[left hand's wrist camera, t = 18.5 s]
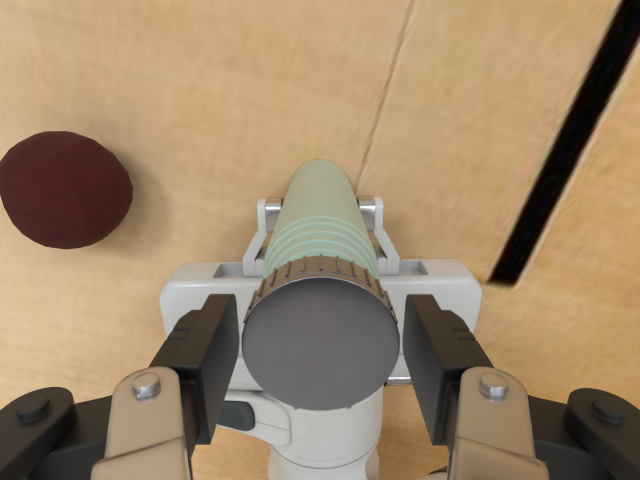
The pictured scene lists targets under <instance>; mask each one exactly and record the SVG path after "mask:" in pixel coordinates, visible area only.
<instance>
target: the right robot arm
mask: <svg viewBox="0 0 640 480" xmlns="http://www.w3.org/2000/svg"><path fill="white" fill-rule="evenodd" d="M283 202H284V199H283V197H261V198H259V200H258V201H257V221H258V229H257V231H256V233H255V235H254V237H253V239H252V240H251V242H250V244H249V246H248V248H247V250H246V252H245V254H244V256H243V258H242V261H233V262H186V263H183V264H182V265H180V266H179V268H178V269H177V270H176V271H175V272H174V273H173V274H172V275H171V276H170V277H169V278H168V280H167V281H166V283H165V284H164V286H163V287H162V289H161V292H160V295H159V305H160V311H161V317H162V321H163V326H164V330H165V334H166V338H167V337H168V336H169V334H170V332H171V331H173V328H174V326H175V325H176V323H177V322H178V320H179V318H181V317H182V316H184V315H185V314H186V313H188V312H189V311H191V310H201V308H202V307H203V305H204V303H205V301H206V299H207V298H208V296H209V294H235V296H236V302H237V313H238V325H239V338H240V343H239V354H238V358H237V361H236V365H235V368H234V371H233V374H232V377H231V380H230V384H229V387H228V390H227V393H226V396H225V399H224V402H223V406H222V409H221V412H220V415H219V418H218V421H217V425H216V426H218V427H222V428H226V429H230V430H234V431H237V432H241V433H244V434H247V435H250V436H253V437H256V438H258V439H261V440H263V441H265V442H268V444H269V446H270V448H271V449H270V452H269V457H268V480H379V474H380V465H379V456H378V452H377V448H376V447H377V444H378V442H379V439H380V435H381V430H382V414H383V395H384V392H383V390H384V387H385V386H406V385H413V384H412V381H411V377H410V374H409V371H408V368H407V365H406V362H405V359H404V355H403V346H402V337H403V325H404V313H405V302H406V296H407V295H408V294H432V295H433V296H434V298H435V300H436V301H437V303H438V305H439V307H440V308H441V310H451V311H452V312H454V313H455V314H457V315H458V316H459V317H461V318H462V319H463V320H464V321H465V323H466V325H467V326H468V328H469V329H470V332H472V334H473V333H474V330H475V327H476V323H477V320H478V315H479V311H480V307H481V302H482V294H483V292H482V288H481V285H480V283H479V282H478V280H477V279H476V277H475V276H474V275H473V273H472V272H471V271H470V270H469V269H468V268H467V267H466V266H465V265H464V264H463V263H462V262H461V261H459V260H457V259H451V258H448V259H400V257H399V255H398V253H397V251H396V249H395V247H394V245H393V243H392V241H391V239H390V237H389V236H388V234H387V232H386V230H385V229H384V227H383V212H384V205H383V199H382V198H381V196H357V203H358V206H359V209H360V212H361V214H362V217H363V220H364V223H365V226H366V228H367V230H372V232H373V234H374V235H375V237H376V239H377V241H378V242H379V244H380V246H374V247H373V248H374V251H375V254H376V258H377V267H378V279H379V280H380V283H381V286H382V288H383V289H384V291H386V290H387V292H388V295H389V298H390V301H391V304H392V306H393V309H394V311H395V314H396V317H397V320H398V324H397V327H398V331H399V335H400V351H399V356H398V360H397V363H396V365H395V368H394V370H393V372H392V373H391V375H390V377H389V378H388V379H387V381H386V382H385V383H384V384H383V385H382V386H381V387H380V388H379V389H378V390H377V391H376V392H375V393H374V394H372V395H371V396H369V397H368V398H366V399H364V400H363V401H361V402H358V403H356V404H354V405H351V406H348V407H345V408H341V409H336V410H327V411H314V410H306V409H301V408H296V407H293V406H290V405H287V404H285V403H283V402H281V401H279V400H277V399H275V398H274V397H272V396H270V395H269V394H268V393H267V392H265V391H264V390H263V389H262V388H261V387H260V386H259V385H258V384H257V383H256V382H255V380H254V379H253V378H252V376H251V374H250V373H249V371H248V369H247V367H246V364H245V362H244V358H243V354H242V346H241V342H242V333H243V328H244V325H245V323H243V321H244V318H245V315H246V312H247V309H248V306H249V304H250V302H251V299H252V296H253V293H254V291H255V290H258V288H259V286H260V285H261V282H262V279H263V263H264V257H265V254H266V251H267V247H262V248H261V246H262V245H263V243H264V241H265V239H266V237H267V235H268V233H269V232H273V231H274V228H275V225H276V222H277V219H278V216H279V213H280V211H281V208H282V205H283ZM260 248H261V249H260ZM447 470H448V466H446V467H443V468H441V469H438V470H436V471H433V472H431V473H430V474H429V475H427V476H424V477H420V478H416V479H413V480H446V479H447Z"/></svg>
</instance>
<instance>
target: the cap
mask: <svg viewBox="0 0 640 480" xmlns="http://www.w3.org/2000/svg"><path fill="white" fill-rule="evenodd" d="M243 323H245V325H244V328H243V333H242V342H241V346H242V354H243V358H244V362H245V364H246V367H247V369H248V371H249V373H250V374H251V376H252V378H253V379H254V380H255V382H256V383H257V384H258V385H259V386H260V387H261V388H262V389H263V390H264V391H265V392H267V393H268V394H269V395H270V396H272V397H274V398H275V399H277V400H279V401H281V402H283V403H285V404H287V405H290V406H293V407H296V408H301V409H306V410H314V411H327V410H336V409H341V408H345V407H348V406H351V405H354V404H356V403H358V402H361V401H363V400H364V399H366V398H368V397H369V396H371V395H372V394H374V393H375V392H376V391H377V390H378V389H379V388H380V387H381V386H382V385H383V384H384V383H385V382H386V381H387V379H388V378H389V377H390V375H391V373H392V372H393V370H394V368H395V365H396V363H397V360H398V356H399V351H400V335H399V331H398V327H397V324H398V320H397V317H396V314H395V311H394V309H393V306H392V304H391V301H390V298H389V295H388V292H387V290H386V291H384V289H383V288H382V286H381V283H380V280H379V279H378V278H377V279H376V278H375V277H374V276H372V275H371V274H370V273H369V270H368V269H367V268H366V269H364V268H362V267H361V266H359V265H357V264H355V261H353V260H352V261H351V262H350V261H348V260H345V259H341V258H339V256H336V257H331V256H322V254H320V256H311V257H306V256H303V258H300V259H296V260H294V261H291V262H290V260H289V261H287V263H286V264H284V265H283V266H281V267H279V268H278V269H276V268H274V269H273V272H272V273H271V274H270V275H269V276H268V277H267V278H266V279H265V278H263V279H262V282H261V285H260V286H259V288H258V290H255V291H254V293H253V296H252V299H251V302H250V304H249V306H248V309H247V312H246V315H245V318H244V321H243Z"/></svg>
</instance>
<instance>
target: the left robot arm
mask: <svg viewBox="0 0 640 480" xmlns="http://www.w3.org/2000/svg"><path fill="white" fill-rule="evenodd" d="M239 343H240V338H239V325H238V313H237V302H236V296H235V294H209V296H208V298H207V299H206V301H205V303H204V305H203V307H202V308H201V310H191V311H189V312H188V313H186V314H185V315H184V316H182V317H181V318H179V320H178V322H177V323H176V325H175V326H174V328H173V331H171V332H170V334H169V336H168V337H167V340H165V342H164V343H163V345H162V347H161V348H160V350H159V351H158V353H157V354H156V356H155V358H154V359H153V361H152V362H151V364H150V365H149V367H148V368H145V369H141V370H139V371H136V372H134V373H132V374H130V375H128V376H127V377H125V378H124V379H123V380H122V381H120V382H119V383H118V385H117V386H116V387H115V389H114V391H113V395H111V396H107V397H104V398H99V399H95V400H90V401H86V402H81V403H76V404H75V403H74V399H73V396H72V393H71V392H70V391H69V390H67V389H65V388H61V387H49V388H43V389H39V390H35V391H32V392H30V393H27V394H25V395H23V396H21V397H19V398H17V399H15V400H14V401H12V402H11V403H9V404H8V405H6V406H5V407H4V408H3V409H1V410H0V480H194V479H193V470H192V462H191V457H192V454H193V451H194V449H195V446H196V445H210V443H211V440H212V437H213V434H214V431H215V428H216V425H217V421H218V418H219V415H220V412H221V409H222V406H223V402H224V399H225V396H226V393H227V390H228V387H229V384H230V380H231V377H232V374H233V371H234V368H235V365H236V361H237V358H238V354H239ZM402 346H403V355H404V359H405V362H406V365H407V368H408V371H409V374H410V377H411V381H412V384H413V387H414V390H415V393H416V396H417V399H418V402H419V405H420V408H421V411H422V415H423V418H424V421H425V424H426V427H427V430H428V433H429V436H430V439H431V442H432V445H447V447H448V450H449V453H450V455H449V462H448V470H447V479H446V480H640V410H639V409H637V408H636V407H635V406H633V405H632V404H631V403H629V402H628V401H626V400H624V399H622V398H620V397H618V396H616V395H614V394H611V393H609V392H606V391H602V390H598V389H592V388H581V389H577V390H574V391H573V392H572V393H571V394H570V395H569V398H568V402H567V404H563V403H559V402H554V401H550V400H545V399H541V398H537V397H533V396H530V395H527V391H526V389H525V387H524V386H523V385H522V383H521V382H520V381H518V380H517V379H516V378H515V377H513V376H512V375H510V374H508V373H506V372H504V371H501V370H499V369H495V368H494V366H493V365H492V363H491V362H490V360H489V359H488V357H487V356H486V354H485V352H484V351H483V349H482V348H481V346H480V345H479V343H478V342H477V341H476V340H475V337H474V335H473V334H472V332H470V329H469V328H468V326H467V325H466V323H465V321H464V320H463V319H462V318H461V317H459V316H458V315H457V314H455V313H454V312H452V311H451V310H441V308H440V307H439V305H438V303H437V301H436V300H435V298H434V296H433V295H432V294H408V295H407V296H406V302H405V313H404V325H403V337H402Z"/></svg>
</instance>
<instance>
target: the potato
mask: <svg viewBox="0 0 640 480" xmlns="http://www.w3.org/2000/svg"><path fill="white" fill-rule="evenodd" d="M132 190H133V187H132V184H131V181H130V178H129V175H128V172H127V171H126V170H125V168H124V167H123V166H122V165H121V163H120V162H119V161H118V160H117V158H116V157H115V156H114V154H112V153H111V152H110V151H108V150H107V149H105V148H104V147H103V146H101V145H100V144H99V143H97V142H96V141H95V140H93V139H90V138H87V137H84V136H82V135H79V134H76V133H73V132H67V131H48V132H42V133H38V134H35V135H33V136H31V137H29V138H27V139H25V140H23V141H21V142H19V143H18V144H16V145H15V146H13V147H12V148H11V149H9V151H8V152H7V153H6V155H5V156H4V157H3V158H2V160H1V161H0V196H1V199H2V202H3V205H4V208H5V210H6V212H7V214H8V215H9V217H10V219H11V221H12V223H13V224H14V225H15V226H16V227H17V228H18V229H19V231H20V232H21V233H22V234H23V235H25V236H26V237H28V238H30V239H31V240H33V241H34V242H36V243H39V244H41V245H43V246H46V247H52V248H59V249H74V248H81V247H85V246H89V245H92V244H94V243H96V242H98V241H100V240H102V239H104V238H105V237H106V236H107V235H109V234H110V233H111V232H112V231H113V230H114V229H115V228H116V227H117V226H118V225H119V224H120V223H121V221H122V220H123V218H124V217H125V215H126V214H127V212H128V211H129V208H130V205H131V202H132Z"/></svg>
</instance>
